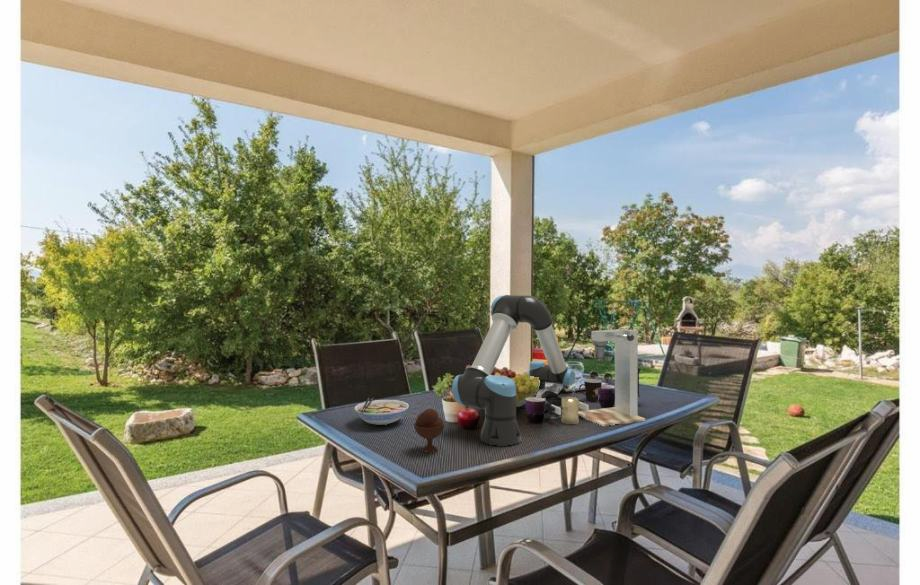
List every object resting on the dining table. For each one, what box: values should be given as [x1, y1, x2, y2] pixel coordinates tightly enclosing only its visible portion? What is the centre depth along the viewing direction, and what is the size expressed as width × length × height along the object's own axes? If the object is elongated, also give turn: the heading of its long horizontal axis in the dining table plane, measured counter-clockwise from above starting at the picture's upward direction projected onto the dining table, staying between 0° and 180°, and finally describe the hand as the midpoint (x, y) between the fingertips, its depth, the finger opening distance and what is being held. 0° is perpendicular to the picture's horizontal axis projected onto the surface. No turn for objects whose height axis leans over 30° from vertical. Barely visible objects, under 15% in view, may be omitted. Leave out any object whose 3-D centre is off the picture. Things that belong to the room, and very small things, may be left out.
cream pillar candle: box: [561, 396, 580, 425], centre depth 197 cm, size 7×7×10 cm
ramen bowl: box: [354, 396, 410, 426], centre depth 197 cm, size 25×23×8 cm
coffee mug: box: [578, 378, 603, 403], centre depth 233 cm, size 12×9×10 cm
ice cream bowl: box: [413, 408, 446, 452], centre depth 164 cm, size 11×11×15 cm
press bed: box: [579, 406, 647, 427], centre depth 204 cm, size 22×20×1 cm
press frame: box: [590, 328, 639, 416], centre depth 201 cm, size 19×16×37 cm
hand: (574, 410), depth 194 cm, fingers open, 13 cm apart
